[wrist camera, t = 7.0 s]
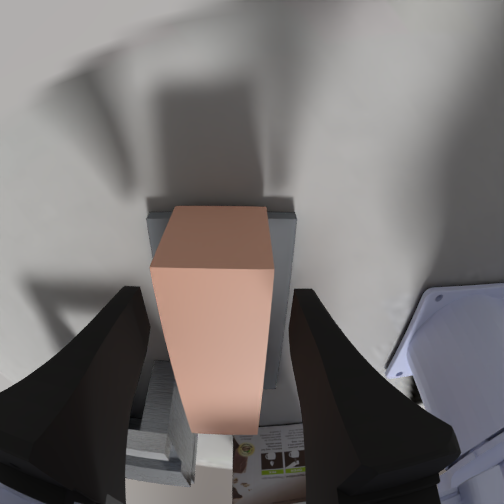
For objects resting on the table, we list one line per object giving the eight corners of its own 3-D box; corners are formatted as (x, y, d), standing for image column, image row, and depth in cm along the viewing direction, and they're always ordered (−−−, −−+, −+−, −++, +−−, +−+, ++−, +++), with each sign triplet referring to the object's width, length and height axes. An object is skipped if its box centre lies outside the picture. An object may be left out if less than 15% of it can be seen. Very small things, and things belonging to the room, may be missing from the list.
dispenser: (177, 361, 18) (164, 453, 13) (197, 433, 24) (193, 495, 19) (70, 350, 18) (40, 427, 13) (116, 424, 24) (104, 481, 19)
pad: (294, 212, 13) (296, 219, 12) (275, 381, 20) (275, 388, 19) (150, 212, 13) (146, 218, 12) (183, 379, 19) (182, 387, 19)
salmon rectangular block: (266, 206, 12) (274, 269, 9) (255, 376, 18) (257, 434, 15) (175, 206, 12) (149, 267, 9) (197, 374, 18) (191, 432, 15)
